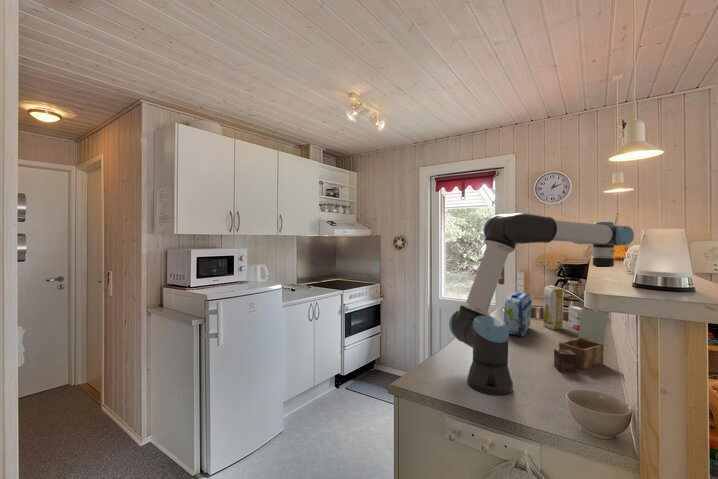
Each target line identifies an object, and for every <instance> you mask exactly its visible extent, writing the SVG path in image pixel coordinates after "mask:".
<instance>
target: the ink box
mask: <svg viewBox="0 0 718 479" xmlns="http://www.w3.org/2000/svg"><path fill="white" fill-rule="evenodd" d="M581 313H582V307H579V306H574V305H573V306H571V305H569V306H568V321H567V322H568V325H567V326H568V327H569V328H572V329H574V330H577V331H579V329H580V321H581Z"/></svg>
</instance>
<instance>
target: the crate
mask: <svg viewBox="0 0 718 479" xmlns="http://www.w3.org/2000/svg"><path fill="white" fill-rule="evenodd" d="M604 345H605V344H602V343H598V342H595V341H591V340H587V339H584V338H580V337H577V338H572V339H569V340H565V341H561V342H558V349H569V350H571V351H572V352H573V353H575V354H576V369H579V370H582V371H586V370H589V369H592V368H595V367H598V366H601V365H604Z"/></svg>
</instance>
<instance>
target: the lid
mask: <svg viewBox="0 0 718 479" xmlns="http://www.w3.org/2000/svg"><path fill="white" fill-rule="evenodd" d="M585 307H586V306H581V308H582V313H581V321H580V329H579V330H578V338H580V339H584V340H588V341H591V342H595V343H598V344H602V345H605V342H606V334H607V326H608V317H609V312H608V313H603V312H596V311H592V310H589V309H586V308H585Z"/></svg>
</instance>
